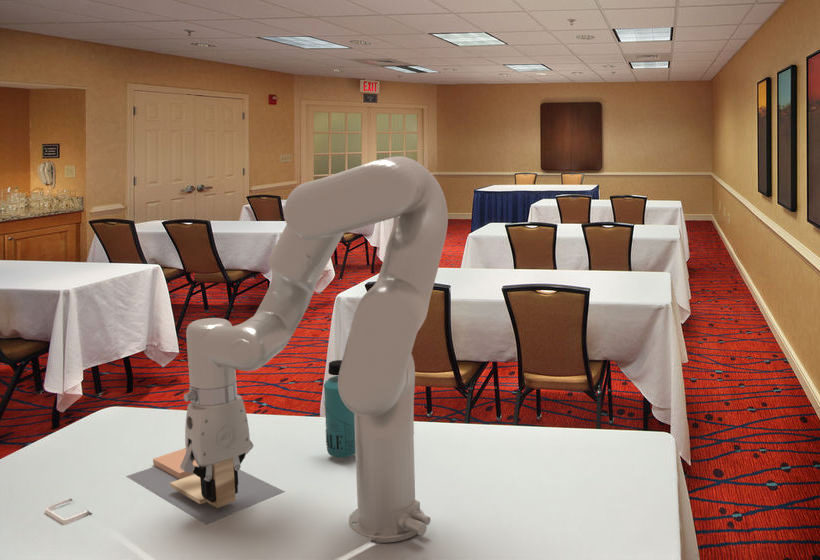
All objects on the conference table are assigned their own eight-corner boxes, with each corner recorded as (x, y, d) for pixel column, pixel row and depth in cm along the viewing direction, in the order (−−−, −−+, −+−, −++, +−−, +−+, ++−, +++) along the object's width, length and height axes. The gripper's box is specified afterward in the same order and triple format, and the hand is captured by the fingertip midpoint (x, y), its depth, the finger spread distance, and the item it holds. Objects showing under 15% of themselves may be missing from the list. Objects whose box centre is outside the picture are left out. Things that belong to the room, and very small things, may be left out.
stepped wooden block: (241, 498, 136) (239, 454, 135) (211, 510, 132) (208, 465, 130) (200, 475, 145) (197, 434, 144) (170, 486, 141) (167, 444, 140)
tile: (216, 459, 152) (189, 446, 159) (179, 473, 147) (152, 458, 154) (217, 466, 153) (190, 452, 160) (180, 479, 147) (153, 465, 154)
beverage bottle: (361, 452, 160) (358, 356, 157) (356, 465, 154) (352, 366, 150) (330, 451, 161) (325, 356, 157) (323, 465, 154) (318, 366, 151)
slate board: (285, 496, 141) (284, 491, 141) (206, 529, 130) (206, 524, 130) (201, 455, 161) (200, 450, 160) (126, 481, 149) (126, 476, 149)
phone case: (64, 528, 133) (144, 496, 144) (64, 520, 133) (144, 489, 144) (44, 515, 138) (123, 485, 149) (43, 507, 138) (122, 478, 149)
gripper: (180, 411, 123) (188, 520, 127) (268, 385, 135) (273, 486, 138) (156, 400, 128) (165, 505, 132) (243, 376, 140) (248, 473, 144)
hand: (220, 494), depth 135 cm, fingers closed on stepped wooden block, 3 cm apart
